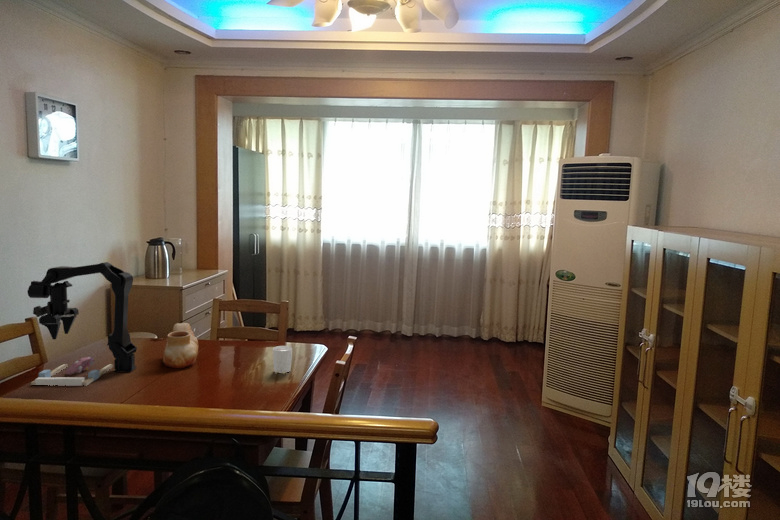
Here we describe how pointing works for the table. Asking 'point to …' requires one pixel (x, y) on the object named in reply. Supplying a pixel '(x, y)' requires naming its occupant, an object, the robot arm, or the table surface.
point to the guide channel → (68, 381)
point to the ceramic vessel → (181, 347)
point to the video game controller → (80, 365)
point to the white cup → (282, 358)
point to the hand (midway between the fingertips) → (60, 336)
